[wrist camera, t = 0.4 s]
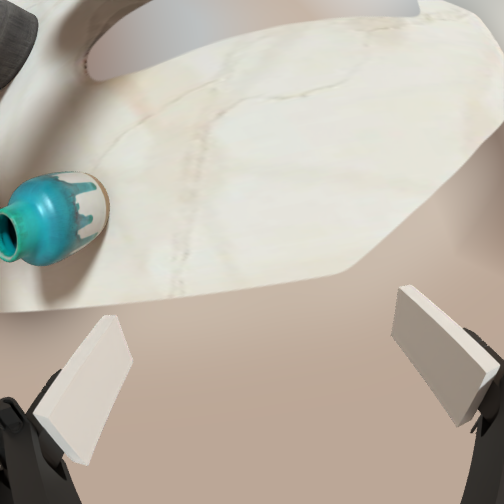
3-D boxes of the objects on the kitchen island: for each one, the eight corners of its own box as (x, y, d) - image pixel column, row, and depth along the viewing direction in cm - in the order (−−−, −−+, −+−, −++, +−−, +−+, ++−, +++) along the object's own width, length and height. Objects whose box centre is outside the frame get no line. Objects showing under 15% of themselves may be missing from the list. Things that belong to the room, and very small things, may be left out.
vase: (129, 225, 38) (54, 273, 20) (77, 246, 39) (-1, 297, 20) (107, 157, 35) (18, 161, 17) (56, 185, 36) (-32, 207, 17)
